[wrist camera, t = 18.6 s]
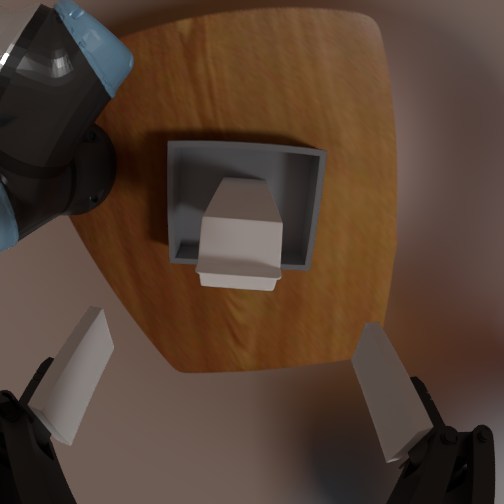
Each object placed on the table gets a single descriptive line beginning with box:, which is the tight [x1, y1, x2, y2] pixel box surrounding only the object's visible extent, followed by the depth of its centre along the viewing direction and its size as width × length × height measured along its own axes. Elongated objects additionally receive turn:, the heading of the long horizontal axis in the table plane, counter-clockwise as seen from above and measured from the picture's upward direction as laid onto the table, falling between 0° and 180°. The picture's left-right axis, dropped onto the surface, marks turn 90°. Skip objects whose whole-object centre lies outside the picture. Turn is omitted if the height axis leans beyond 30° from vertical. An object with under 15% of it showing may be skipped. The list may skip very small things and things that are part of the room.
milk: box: [195, 177, 283, 291], centre depth 29 cm, size 6×6×22 cm
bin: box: [167, 140, 327, 271], centre depth 37 cm, size 20×17×5 cm
